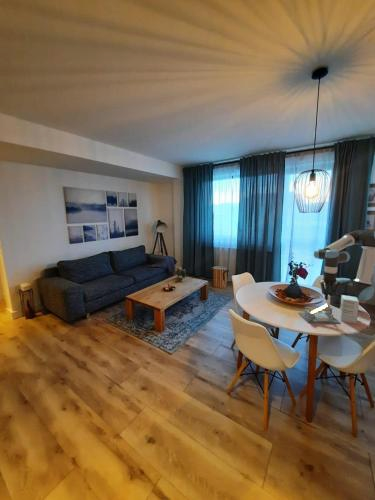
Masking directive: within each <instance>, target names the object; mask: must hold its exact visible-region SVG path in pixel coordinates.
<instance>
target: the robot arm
mask: <svg viewBox="0 0 375 500" xmlns="http://www.w3.org/2000/svg"><path fill="white" fill-rule="evenodd" d="M353 245H361V246H360V248H361V249H362V253H361V256H360V260H359V265H358V269H357V272H356V277H355V279H352V280H351V279H350V278H348V277H347V278H346V277H338V276H337V275H338V265H339V264H340V263H346V262H349V260H350V259H351V255H350V253H349V252H348V251H342V250H343V249H345V248H347V247H349V246H353ZM313 257H314V258H315V259H319V260H323V261H324V266H323V267H324V269H323V271H324V272H323V278H322V280H319V282H318V283H319V284H320V291H321V294H323V295H324V300H325V302H324V303H325V305H326V304H327V305H329V306H333V307H336V308H339V309H340V305H341V295H345V296H352V297H357V299H358V300H362V301H368V300H371V299H372V297H373V296H374V294H375V288H374V286H372V285H373V283H372V282H371V280H372V275H373V271H374V267H375V230H363V229H362V230H361V229H359V230H354V231H351V232H349V233H345V234H344V235H343V236H342V237H341V238H339V239H337V240H336V241H335V242H333V243H331V244H329V245H327V246H326V247H324V248H322V249H321V248H316V249H314V252H313Z"/></svg>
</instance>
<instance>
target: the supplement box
mask: <svg viewBox="0 0 375 500" xmlns="http://www.w3.org/2000/svg"><path fill="white" fill-rule="evenodd" d="M359 306H360V301H359V299H358V298H357V297H352V296H345V295H341V305H340V308H339V319H340V321H341V322H345V323H349V324H355V325H356V324H358V316H359V315H358V313H359Z"/></svg>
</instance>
